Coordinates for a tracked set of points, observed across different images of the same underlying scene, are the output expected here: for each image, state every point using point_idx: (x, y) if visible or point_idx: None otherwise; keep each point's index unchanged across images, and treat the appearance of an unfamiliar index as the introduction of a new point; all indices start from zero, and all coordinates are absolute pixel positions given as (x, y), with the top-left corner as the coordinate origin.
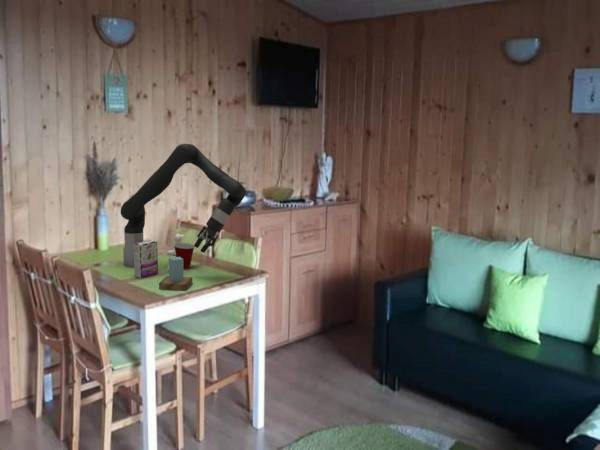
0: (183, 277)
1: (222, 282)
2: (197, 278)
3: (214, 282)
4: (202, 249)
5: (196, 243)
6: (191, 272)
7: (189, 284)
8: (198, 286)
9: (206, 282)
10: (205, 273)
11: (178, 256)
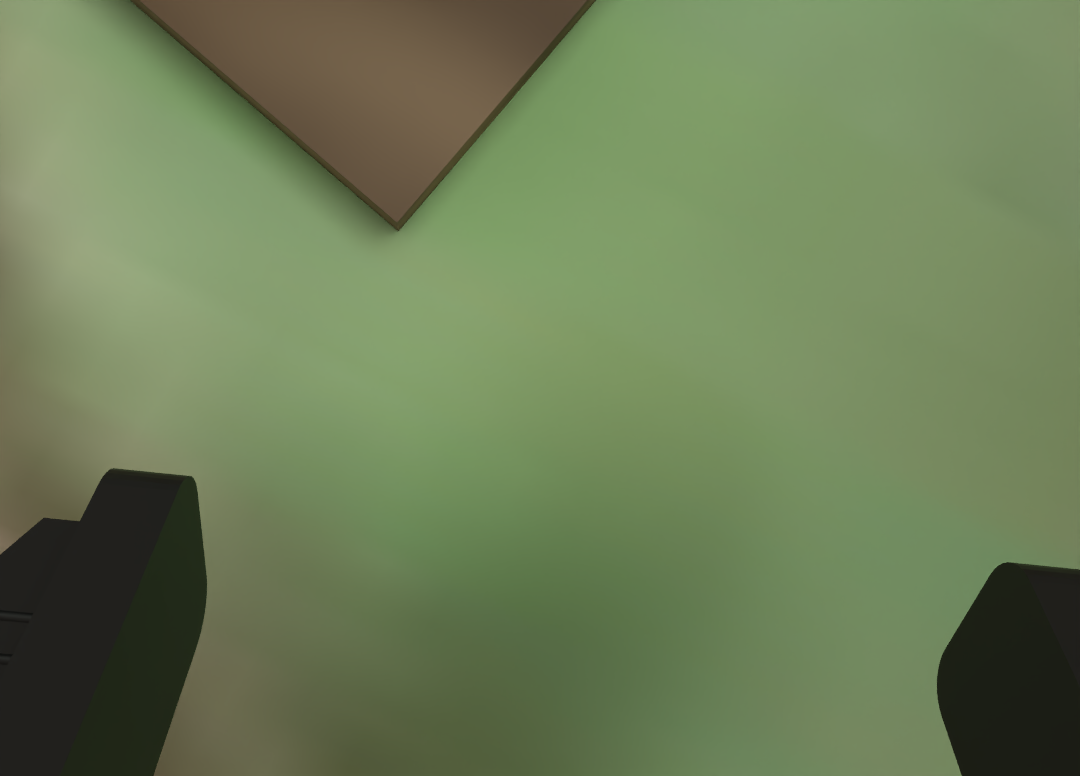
0: (472, 46)
1: (186, 752)
2: (668, 472)
3: (262, 623)
4: (81, 560)
5: (1061, 702)
6: (1074, 557)
7: (208, 65)
8: (157, 238)
9: (337, 494)
10: (890, 744)
11: None
